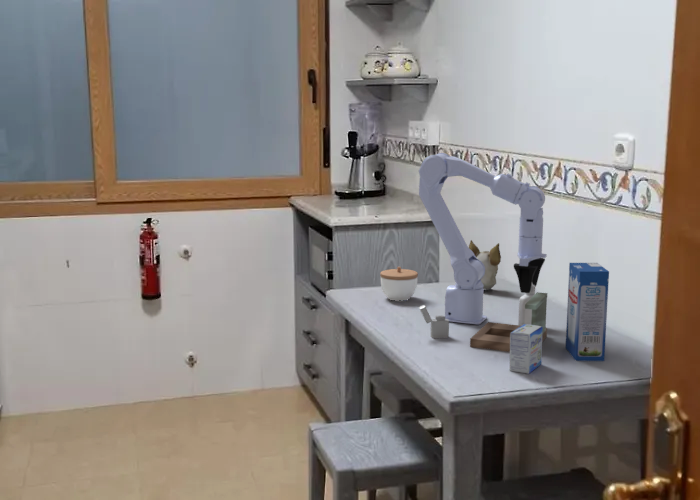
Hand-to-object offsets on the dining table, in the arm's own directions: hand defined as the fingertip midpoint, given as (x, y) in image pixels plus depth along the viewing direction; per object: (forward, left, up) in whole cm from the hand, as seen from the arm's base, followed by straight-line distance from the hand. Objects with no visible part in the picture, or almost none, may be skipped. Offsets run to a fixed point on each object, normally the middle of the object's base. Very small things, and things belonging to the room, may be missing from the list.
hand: (528, 289), depth 209 cm
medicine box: (+7, -34, -10) cm, 36 cm away
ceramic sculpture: (-20, +35, -10) cm, 41 cm away
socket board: (-2, -16, -9) cm, 19 cm away
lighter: (-18, -20, -10) cm, 29 cm away
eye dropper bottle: (+1, -1, -10) cm, 10 cm away
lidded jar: (-40, +14, -10) cm, 43 cm away
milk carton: (+17, -19, -10) cm, 27 cm away
